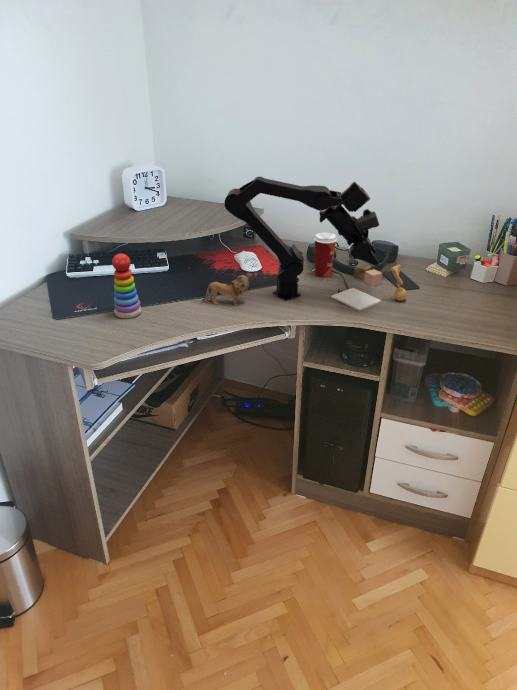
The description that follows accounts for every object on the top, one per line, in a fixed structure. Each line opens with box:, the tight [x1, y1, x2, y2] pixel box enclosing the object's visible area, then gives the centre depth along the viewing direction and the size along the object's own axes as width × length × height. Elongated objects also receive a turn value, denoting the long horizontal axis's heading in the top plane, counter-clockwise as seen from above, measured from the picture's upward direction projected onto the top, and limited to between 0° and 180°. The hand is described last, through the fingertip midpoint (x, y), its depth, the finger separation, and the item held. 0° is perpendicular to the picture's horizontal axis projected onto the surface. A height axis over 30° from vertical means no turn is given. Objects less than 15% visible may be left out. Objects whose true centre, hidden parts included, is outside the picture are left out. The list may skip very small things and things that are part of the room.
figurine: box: [391, 264, 408, 302], centre depth 169 cm, size 8×6×12 cm
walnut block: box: [353, 263, 373, 281], centre depth 187 cm, size 4×4×4 cm
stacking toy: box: [111, 253, 142, 319], centre depth 158 cm, size 8×8×19 cm
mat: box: [330, 287, 382, 311], centre depth 172 cm, size 12×10×1 cm
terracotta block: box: [363, 268, 383, 287], centre depth 183 cm, size 4×4×4 cm
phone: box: [381, 270, 420, 291], centre depth 185 cm, size 7×1×15 cm
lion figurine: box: [201, 274, 250, 307], centre depth 168 cm, size 15×5×9 cm, turn 92°
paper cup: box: [313, 231, 338, 279], centre depth 186 cm, size 8×8×14 cm
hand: (376, 259), depth 166 cm, fingers open, 9 cm apart
